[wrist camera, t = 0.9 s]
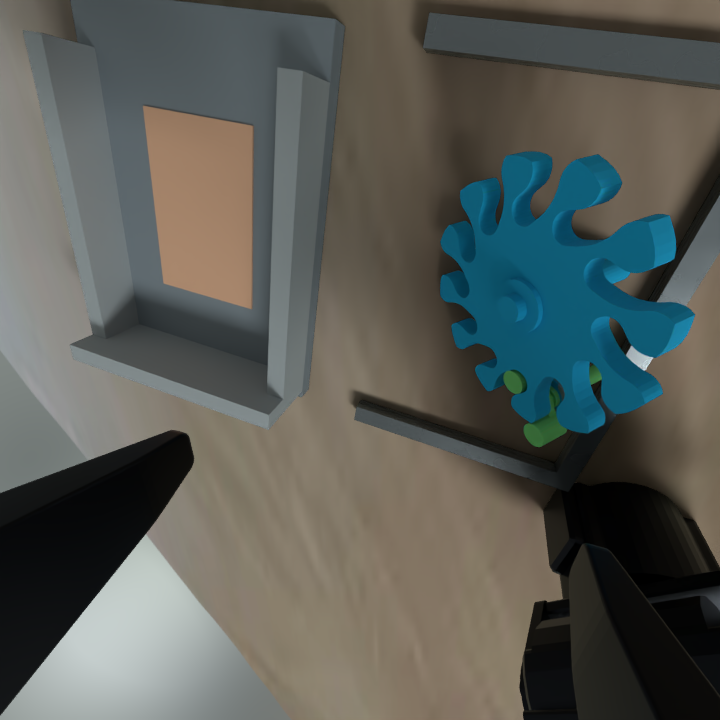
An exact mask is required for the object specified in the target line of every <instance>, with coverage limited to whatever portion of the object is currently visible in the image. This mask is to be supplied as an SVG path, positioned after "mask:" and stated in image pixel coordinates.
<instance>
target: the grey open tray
mask: <svg viewBox="0 0 720 720" xmlns="http://www.w3.org/2000/svg"><path fill="white" fill-rule="evenodd" d="M70 2H71V7H72V13H73V19H74V24H75V30H76V36H77V41H78V43H77V42H73V41H69V40H66V39H62V38H58V37H55V36H51V35H47V34H44V33H39V32H32V31H25V30H23V34H24V38H25V43H26V47H27V51H28V56H29V60H30V64H31V69H32V73H33V77H34V82H35V86H36V90H37V95H38V99H39V103H40V108H41V112H42V116H43V121H44V125H45V129H46V134H47V138H48V142H49V147H50V151H51V155H52V159H53V164H54V168H55V172H56V177H57V181H58V185H59V190H60V194H61V198H62V203H63V207H64V211H65V216H66V220H67V224H68V229H69V233H70V237H71V242H72V246H73V250H74V255H75V259H76V263H77V268H78V272H79V276H80V281H81V285H82V289H83V294H84V298H85V302H86V307H87V311H88V315H89V320H90V324H91V328H92V332H93V335H91V336H89V337H86V338H84V339H82V340H79V341H77V342H75V343H72V344H70V348H71V351H72V355H73V359H74V360H77V361H80V362H82V363H85V364H88V365H91V366H94V367H96V368H99V369H102V370H105V371H107V372H110V373H113V374H116V375H118V376H121V377H124V378H127V379H129V380H132V381H135V382H138V383H140V384H143V385H146V386H149V387H151V388H154V389H157V390H160V391H163V392H165V393H168V394H171V395H174V396H176V397H179V398H182V399H185V400H187V401H190V402H193V403H196V404H198V405H201V406H204V407H207V408H209V409H212V410H215V411H218V412H221V413H223V414H226V415H229V416H232V417H234V418H237V419H240V420H243V421H245V422H248V423H251V424H254V425H256V426H259V427H262V428H265V429H267V430H269V429H270V427H271V426H272V425H273V424H274V423H275V422H276V421H277V419H278V418H279V417H280V416H281V415H282V414H283V412H284V411H285V410H286V409H287V408H288V407H289V406H290V404H291V403H292V402H293V401H294V400H295V399H296V397H297V396H299V397H302V396H303V395H304V394H305V393H306V392H307V390H308V389H309V379H310V369H311V359H312V349H313V339H314V330H315V320H316V310H317V300H318V290H319V280H320V270H321V260H322V250H323V240H324V230H325V220H326V210H327V200H328V190H329V180H330V170H331V160H332V150H333V140H334V130H335V120H336V110H337V100H338V91H339V81H340V71H341V61H342V51H343V41H344V31H345V26H344V25H343V24H341V23H340V22H339V21H338V20H337V19H333V18H324V17H315V16H306V15H298V14H289V13H280V12H271V11H262V10H254V9H245V8H236V7H227V6H218V5H210V4H201V3H192V2H183V1H174V0H70Z"/></svg>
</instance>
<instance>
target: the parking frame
mask: <svg viewBox="0 0 720 720" xmlns="http://www.w3.org/2000/svg"><path fill="white" fill-rule="evenodd" d="M423 49H424V50H425V51H426V53H433V54H440V55H448V56H456V57H464V58H472V59H480V60H488V61H496V62H504V63H512V64H520V65H527V66H535V67H543V68H551V69H559V70H567V71H575V72H583V73H591V74H599V75H607V76H615V77H622V78H630V79H638V80H646V81H654V82H662V83H670V84H678V85H686V86H694V87H702V88H709V89H717V90H720V43H715V42H705V41H696V40H686V39H677V38H667V37H658V36H648V35H638V34H629V33H619V32H610V31H600V30H591V29H581V28H571V27H562V26H552V25H543V24H533V23H524V22H514V21H504V20H495V19H485V18H476V17H466V16H457V15H447V14H437V13H429V17H428V23H427V28H426V34H425V39H424V45H423ZM719 253H720V176H719V178H718V179H717V181H716V183H715V185H714V186H713V188H712V190H711V192H710V193H709V195H708V197H707V199H706V200H705V202H704V204H703V206H702V207H701V209H700V211H699V213H698V214H697V216H696V218H695V220H694V221H693V223H692V225H691V227H690V228H689V230H688V232H687V234H686V235H685V237H684V239H683V240H682V242H681V244H680V246H679V247H678V249H677V251H676V253H675V258H674V259H673V260H672V261H670V263H669V265H668V267H667V268H666V270H665V272H664V274H663V275H662V277H661V279H660V281H659V282H658V284H657V286H656V288H655V289H654V291H653V293H652V295H651V296H650V298H649V300H648V301H650V302H675V303H679V304H682V305H685V306H686V305H687V303H688V302H689V300H690V299H691V297H692V295H693V294H694V292H695V291H696V289H697V288H698V286H699V284H700V283H701V281H702V280H703V278H704V276H705V275H706V273H707V272H708V270H709V269H710V267H711V265H712V264H713V262H714V261H715V259H716V257H717V256H718V254H719ZM621 350H622V351H623V352H624V354H625V355H626V356H627V357H628V358H629V359H630V360H631V361H632V362H633V363H634V364H636V365H637V366H638V367H639V368H641V369H642V370H644V371H645V370H646V368H647V367H648V365H649V364H650V362H651V360H652V359H653V357H648V356H645V355H643V354H641V353H639V352H638V351H637V350H635V349H634V348H633V346H632V345H631V344H630V342H629V340H628V338H626V340H625V342H624V344H623V345H622V347H621ZM601 385H602V382H601V384H600V385H599V387H598V389H597V391H596V392H595V394H594V395H595V397H596V399H597V401H598V403H599V404H600V405H601V407H602V409H603V411H604V413H605V423H604V425H602V426H600V427H598V428H596V429H595V430H593V431H591V432H589V433H580V432H575V431H573V433H572V434H571V436H570V438H569V440H568V441H567V443H566V445H565V447H564V448H563V450H562V452H561V454H560V455H559V457H558V459H557V461H556V462H555V463H554V462H550V461H547V460H544V459H541V458H538V457H535V456H532V455H529V454H526V453H523V452H520V451H517V450H514V449H511V448H508V447H504V446H501V445H498V444H495V443H492V442H489V441H486V440H483V439H480V438H477V437H474V436H471V435H468V434H465V433H462V432H459V431H455V430H452V429H449V428H446V427H443V426H440V425H437V424H434V423H431V422H428V421H425V420H422V419H419V418H416V417H413V416H409V415H406V414H403V413H400V412H397V411H394V410H391V409H388V408H385V407H382V406H379V405H376V404H373V403H370V402H367V401H363V400H360V402H359V404H358V405H357V408H356V413H355V419H354V420H357V421H360V422H363V423H366V424H369V425H372V426H375V427H378V428H381V429H383V430H386V431H389V432H392V433H395V434H398V435H401V436H404V437H407V438H410V439H413V440H416V441H419V442H422V443H425V444H428V445H431V446H434V447H437V448H440V449H442V450H445V451H448V452H451V453H454V454H457V455H460V456H463V457H466V458H469V459H472V460H475V461H478V462H481V463H484V464H487V465H490V466H493V467H496V468H499V469H502V470H504V471H507V472H510V473H513V474H516V475H519V476H522V477H525V478H528V479H531V480H534V481H537V482H540V483H543V484H546V485H549V486H552V487H555V488H558V489H561V490H564V491H566V492H569V490H570V489H571V487H572V486H573V484H574V482H575V481H576V479H577V478H578V476H579V474H580V473H581V471H582V470H583V468H584V467H585V465H586V463H587V462H588V460H589V459H590V457H591V455H592V454H593V452H594V451H595V449H596V448H597V446H598V444H599V443H600V441H601V440H602V438H603V436H604V435H605V433H606V432H607V430H608V429H609V427H610V425H611V424H612V422H613V421H614V419H615V417H616V416H617V414H615V413H613V412H612V411H611V410H610V409H609V408H608V407H607V406H606V404H605V403H604V401H603V399H602V395H601Z"/></svg>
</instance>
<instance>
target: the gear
mask: <svg viewBox="0 0 720 720" xmlns="http://www.w3.org/2000/svg"><path fill="white" fill-rule="evenodd" d="M551 171H552V157H550V156H548V155H547V154H544V153H541V152H521V153H517V154H512V155H507V156H506V157H505V159H504V161H503V165H502V171H501V173H502V181H503V186H504V206H503V212H502V215H501V219H500V222H499V225H497V222H496V217H495V214H496V209H497V206H498V203H499V200H500V195H501V189H500V184H499V182H498V180H497V178H490V179H486V180H481V181H477V182H473V183H471V184H469V185H468V186H466V187H465V188H464V189H462V190H461V191H460V200H461V204H462V207H463V209H464V210H465V212H466V213H467V215H468V217H469V219H470V221H471V224H472V227H473V229H472V227H471V225H470V224H469V223H468V222H467V221H462V222H458V223H455V224H451V225H449V226H448V227H447V228H446V230H445V231H444V234H443V236H442V239H441V241H440V243H441V246H442V249H443V250H444V252H445V253H446V254H448V255H450V256H451V257H452V258H454V259H455V260H456V262H457V263H458V264H459V265H460V267H461V268H462V270H463V272H464V273H463V272H461V271H454V272H451V273H448V274H444V275H442V277H441V283H440V296H441V297H442V299H443V300H444V301H446V302H454V303H457V304H460V305H461V306H463V307H464V308H465V309H466V310H467V311H468V312H469V313H470V314H471V315H472V316H473V317H474V318H475V320H476V321H475V320H474V319H472V318H467V319H464V320H461V321H459V322H456V323H454V324H452V325H451V326H452V333H453V337H454V341H455V343H456V346H457V347H458V348H460V349H464V348H467V347H469V346H472V345H474V344H477V343H479V344H482V345H485V346H487V347H489V348H491V349H492V350H493V351H494V353H495V355H496V358H497V359H491V360H489V361H486V362H484V363H482V364H479V365H477V366H476V368H475V372H476V374H477V376H478V378H479V380H480V382H481V383H482V385H483V386H484V388H485V389H486V390H487V391H492V390H494V389H496V388H499V387H501V386H503V385H506V387H507V388H508V390H509V391H511V392H512V393H514V394H515V395H514V396H513V397H512V400H511V405H512V407H513V409H514V410H515V411H516V412H517V413H518V414H519V415H520V416H522V417H523V418H524V419H526V420H527V421H528V422H529V423H527V424H526V425H525V426H524V434H525V437H526V438H527V440H528V441H529V442H530V443H531V444H532V445H533V446H536V447H541V446H543V445H545V444H547V443H549V442H551V441H552V440H554V439H556V438H558V437H560V436H562V435H563V434H565V433H566V432H567V429H569V430H571V431H575V432H580V433H589V432H591V431H593V430H595V429H596V428H598V427H600V426H602V425H604V423H605V413H604V411H603V409H602V407H601V405H600V404H599V403H598V401H597V399H596V397H595V395H594V393H593V391H592V388H591V385H592V384H594V383H596V382H598V381H600V380H602V385H601V395H602V399H603V401H604V403H605V404H606V406H607V407H608V408H609V409H610V410H611V411H612V412H613V413H615V414H623V413H627V412H630V411H633V410H635V409H637V408H639V407H641V406H642V405H644V404H646V403H648V402H649V401H651V400H653V399H655V398H657V397H658V396H660V395H662V394H663V391H662V388H661V385H660V383H659V382H658V381H657V380H656V378H655V377H653V376H652V375H651V374H649V373H648V372H646V371H644V370H642V369H641V368H639V367H638V366H637V365H636V364H634V363H633V362H632V361H631V360H630V359H629V358H628V357H627V356H626V355H625V354H624V352H623V351H622V350H621V348H620V347H619V345H618V343H617V342H616V340H615V338H614V335H613V333H612V331H611V329H610V326H609V319H610V318H613V319H615V320H616V321H617V322H618V323H619V324H620V325H621V326H622V328H623V330H624V332H625V334H626V336H627V338H628V340H629V342H630V344H631V345H632V346H633V348H634V349H635V350H637V351H638V352H639V353H641V354H643V355H645V356H648V357H654V358H656V357H658V356H660V355H662V354H664V353H666V352H668V351H670V350H672V349H674V348H676V347H677V346H678V345H679V344H680V343H682V341H683V340H684V338H685V337H686V336H687V334H688V332H689V330H690V328H691V325H692V322H693V320H694V317H695V314H694V313H693V312H692V311H691V309H689V308H688V307H686V306H685V305H682V304H679V303H675V302H650V301H645V300H641V299H637V298H635V297H632V296H630V295H628V294H626V293H625V292H623V291H621V290H620V289H619V288H617V287H616V286H614V285H613V283H616V282H618V281H621V280H624V279H625V278H627V277H628V276H629V274H630V273H641V272H645V271H648V270H650V269H653V268H655V267H658V266H660V265H663V264H665V263H668V262H670V261H672V260H673V259H674V258H675V253H676V238H675V233H674V228H673V225H672V222H671V218H670V216H669V215H665V214H655V215H652V216H648V217H645V218H642V219H639V220H636V221H633V222H630V223H627V224H626V225H624V226H622V227H621V228H620V229H619V230H618V231H617V232H615V233H614V234H613V235H612V236H610V237H609V238H607V239H605V240H584V239H581V238H579V237H577V236H576V235H575V233H574V232H573V230H572V226H571V220H572V216H573V214H574V212H575V211H576V210H580V209H585V208H588V207H591V206H595V205H598V204H601V203H604V202H607V201H609V200H610V199H612V198H613V197H614V196H615V195H616V194H617V192H618V191H619V189H620V187H621V185H622V181H621V179H620V176H619V174H618V173H617V171H616V170H615V169H614V167H613V166H612V165H610V164H609V163H608V162H607V161H606V160H605V159H604V158H602V157H601V156H600V155H598V154H597V155H593V156H589V157H584V158H580V159H577V160H575V161H573V162H571V163H570V164H569V165H568V166H567V167H566V168H565V170H564V171H563V173H562V176H561V178H560V182H559V186H558V189H557V192H556V194H555V197H554V199H553V201H552V202H551V204H550V206H549V207H548V208H547V210H546V211H545V212H544V213H543V214H542V215H541V216H540V217H539V218H538V219H535V218H534V217H533V215H532V213H531V210H530V202H531V198H532V196H533V194H534V193H535V192H536V191H537V190H538V189H539V188H541V187H542V186H543V185H544V184H545V183H546V182H547V180H548V179H549V177H550V174H551ZM473 231H474V232H473ZM474 237H475V241H474ZM475 247H476V249H475ZM605 259H606V260H605ZM590 362H591V363H593V364H594V365H592V366H590V367H589V364H590Z"/></svg>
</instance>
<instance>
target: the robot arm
mask: <svg viewBox="0 0 720 720" xmlns="http://www.w3.org/2000/svg"><path fill="white" fill-rule="evenodd" d="M193 463H194V455H193V451H192V447H191V442H190V438H189V436H188V435H187V434H186V433H183V432H180V431H176V430H170V431H167V432H165V433H162V434H159V435H156V436H154V437H151V438H148V439H146V440H143V441H140V442H137V443H135V444H132V445H129V446H127V447H124V448H121V449H118V450H116V451H113V452H110V453H108V454H105V455H102V456H99V457H97V458H94V459H91V460H89V461H86V462H83V463H81V464H78V465H75V466H73V467H70V468H67V469H65V470H61V471H59V472H56V473H53V474H51V475H48V476H45V477H43V478H40V479H37V480H34V481H32V482H29V483H26V484H24V485H21V486H18V487H15V488H13V489H10V490H7V491H5V492H2V493H0V715H1V714H2V713H3V712H4V710H5V709H6V708H7V707H8V705H9V704H10V703H11V702H12V700H13V699H14V698H15V697H16V695H17V694H18V693H19V692H20V690H21V689H22V688H23V687H24V685H25V684H26V683H27V682H28V680H29V679H30V678H31V677H32V675H33V674H34V673H35V672H36V670H37V669H38V668H39V667H40V665H41V664H42V663H43V662H44V660H45V659H46V658H47V657H48V655H49V654H50V653H51V652H52V650H53V649H54V648H55V647H56V645H57V644H58V643H59V641H60V640H61V639H62V638H63V637H64V635H65V634H66V633H67V632H68V630H69V629H70V628H71V627H72V625H73V624H74V623H75V622H76V620H77V619H78V618H79V617H80V615H81V614H82V612H84V610H85V609H86V608H87V607H88V605H89V604H90V603H91V601H92V600H93V599H94V598H95V597H96V595H97V594H98V593H99V592H100V590H101V589H102V588H103V587H104V585H105V584H106V583H107V582H108V580H109V579H110V578H111V577H112V575H113V574H114V573H115V572H116V570H117V569H118V568H119V567H120V565H121V564H122V563H123V562H124V560H125V559H126V558H127V557H128V555H129V554H130V553H131V552H132V550H133V549H134V548H135V547H136V545H137V544H138V543H139V542H140V540H141V539H142V538H143V537H144V535H145V534H146V533H147V532H148V530H149V529H150V528H151V527H152V525H153V524H154V523H155V521H156V520H157V519H158V517H159V516H160V514H161V513H162V511H163V510H164V508H165V507H166V505H167V504H168V502H169V501H170V499H171V498H172V496H173V495H174V493H175V492H176V490H177V489H178V487H179V486H180V484H181V483H182V481H183V480H184V478H185V477H186V475H187V474H188V472H189V471H190V469H191V468H192V466H193ZM543 512H544V521H545V530H546V539H547V548H548V556H549V565H550V568H551V569H552V571H553V572H555V573H557V574H560V581H561V588H562V596H563V599H562V600H556V601H551V602H547V601H546V600H545V601H539V602H535V603H534V608H533V613H532V618H531V623H530V628H529V633H528V637H527V642H526V647H525V651H524V655H523V662H522V666H521V675H520V693H521V696H522V702H523V707H524V712H523V718H524V720H720V567H719V565H718V563H717V561H716V559H715V557H714V555H713V554H712V552H711V550H710V548H709V546H708V544H707V542H706V540H705V538H704V537H703V535H702V533H701V531H700V529H699V527H698V525H697V523H696V522H695V521H693V520H691V519H688V518H685V517H683V516H682V515H681V513H680V511H679V509H678V508H677V506H676V505H675V504H674V503H673V502H672V501H671V500H670V499H669V498H668V497H666V496H665V495H663V494H662V493H660V492H658V491H656V490H654V489H651V488H649V487H646V486H642V485H638V484H633V483H626V482H610V483H602V484H597V485H593V486H589V485H585V484H582V483H578V482H577V483H574V484H573V486H572V487H571V489H570V490H569V492H566V491H564V490H561V489H558V488H557V489H556V491H555V492H554V494H553V496H552V497H551V499H550V501H549V502H548V504H547V506H546V507H545V509H544V511H543Z"/></svg>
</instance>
